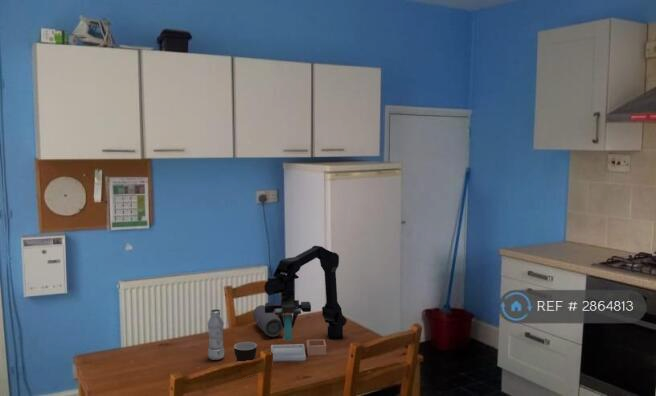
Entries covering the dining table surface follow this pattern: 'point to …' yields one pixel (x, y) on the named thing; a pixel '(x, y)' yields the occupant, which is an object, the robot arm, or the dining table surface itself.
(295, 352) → the grey tray
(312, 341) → the pin cup
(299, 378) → the dining table surface
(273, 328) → the bluetooth speaker
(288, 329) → the dowel pin
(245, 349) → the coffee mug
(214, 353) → the plastic bottle
